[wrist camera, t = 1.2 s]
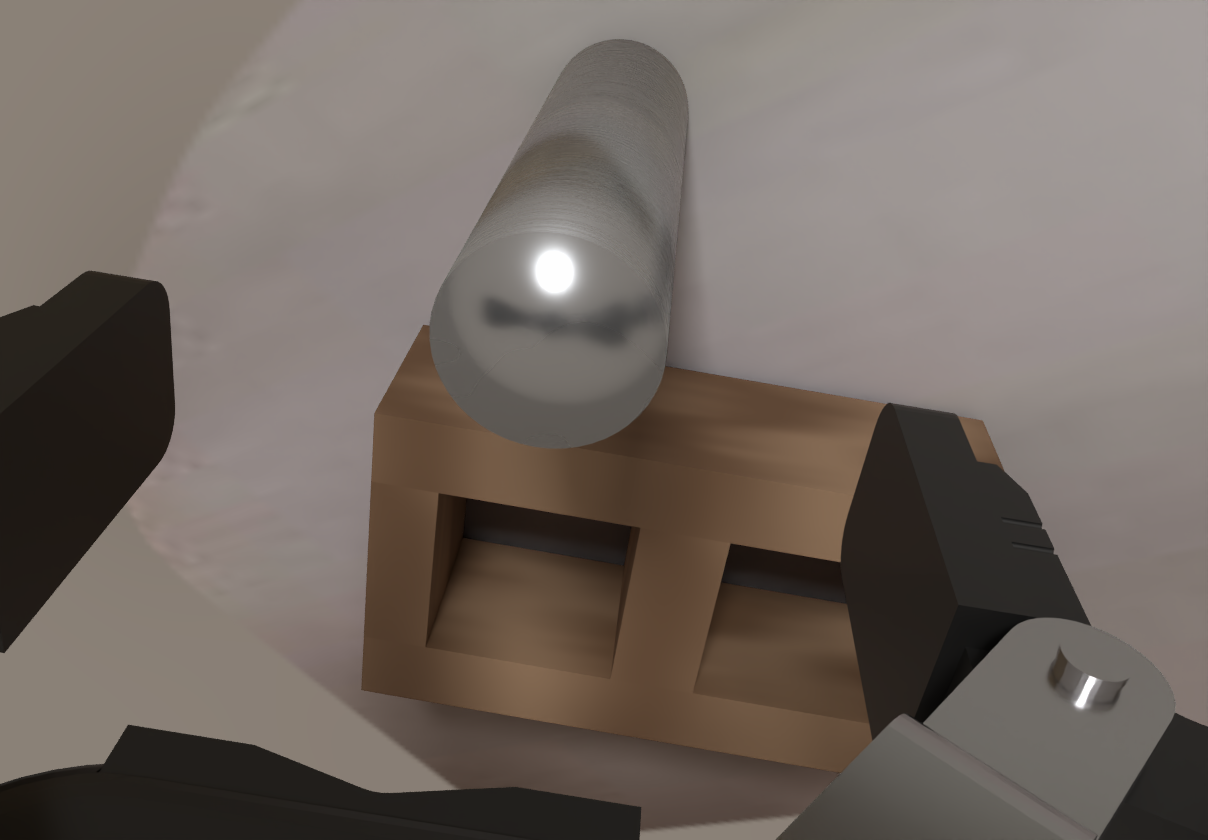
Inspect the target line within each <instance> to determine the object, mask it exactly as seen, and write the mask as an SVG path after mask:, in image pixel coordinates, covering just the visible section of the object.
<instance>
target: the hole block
mask: <svg viewBox="0 0 1208 840" xmlns="http://www.w3.org/2000/svg"><path fill="white" fill-rule="evenodd" d="M885 405H886V404H883V403H877V402H871V401H865V400H859V399H854V398H848V397H842V396H836V395H830V394H824V393H819V392H813V391H807V390H801V389H795V388H789V387H784V386H778V385H772V384H766V383H760V382H754V381H749V380H743V379H737V378H731V377H725V376H719V375H714V374H708V373H702V372H696V371H690V370H684V369H679V368H673V367H667V366H665V369H664V373H663V376H662V380H661V382H660V385H659V387H658V389H657V391H656V393H655V395H654V397H653V398H652V400H651V401H650V403H649V405H648V406H647V407H646V408H645V409H644V411H643V412H642V413H641V414H640V415H639V416H638V417H637V418H636V419H635V420H634V421H633V422H631V423H630V424H629V425H628V426H626V427H625V428H623V429H622V430H620V431H619V432H617V433H615V434H614V435H612V436H610V437H608V438H606V439H603V440H600V441H598V442H595V443H592V444H588V445H584V446H580V447H573V448H564V449H548V448H540V447H532V446H528V445H524V444H519V443H517V442H514V441H511V440H508V439H505V438H503V437H501V436H499V435H497V434H495V433H493V432H491V431H489V430H488V429H486V428H485V427H483V426H481V425H480V424H478V423H477V422H476V421H475V420H473V419H472V418H471V417H470V416H468V415H467V414H466V413H465V412H464V411H463V410H462V409H461V408H460V407H459V406H458V405H457V403H456V402H455V401H454V400H453V398H452V397H451V396H450V394H449V393H448V391H447V390H446V388H445V386H444V385H443V383H442V381H441V379H440V377H439V375H438V372H437V370H436V368H435V364H434V361H433V357H432V354H431V346H430V326H428V325H423V327H422V328H421V330H420V332H419V334H418V336H417V337H416V339H415V341H414V343H413V345H412V346H411V348H410V350H409V352H408V354H407V355H406V357H405V359H404V361H403V363H402V364H401V366H400V368H399V370H398V372H397V374H396V375H395V377H394V379H393V381H392V383H391V384H390V386H389V388H388V390H387V392H386V393H385V395H384V397H383V399H382V401H381V402H380V404H379V406H378V408H377V410H376V411H375V415H374V436H373V457H372V478H371V499H370V520H369V541H368V562H367V583H366V604H365V625H364V646H363V667H362V688H361V690H364V691H370V692H375V693H381V694H387V695H393V696H399V697H404V698H410V699H416V700H422V701H428V702H433V703H439V704H445V705H451V706H457V707H462V708H468V709H474V710H480V711H485V712H491V713H497V714H503V715H509V716H514V717H520V718H526V719H532V720H538V721H543V722H549V723H555V724H561V725H566V726H572V727H578V728H584V729H590V730H595V731H601V732H607V733H613V734H619V735H624V736H630V737H636V738H642V739H647V740H653V741H659V742H665V743H671V744H676V745H682V746H688V747H694V748H700V749H705V750H711V751H717V752H723V753H728V754H734V755H740V756H746V757H752V758H757V759H763V760H769V761H775V762H781V763H786V764H792V765H798V766H804V767H809V768H815V769H821V770H827V771H833V772H838V773H842V772H843V771H844V769H845V768H846V767H847V766H848V765H849V764H850V763H851V762H852V761H853V760H854V759H855V758H856V757H857V756H858V755H859V754H860V753H861V752H862V751H863V750H864V749H865V748H866V747H867V746H868V745H869V744H870V743H871V742H872V736H871V730H870V725H869V720H868V714H867V709H866V704H865V698H864V693H863V688H862V682H861V677H860V672H859V666H858V661H857V655H856V650H855V645H854V639H853V634H852V629H851V623H850V618H849V613H848V607H847V604H844V603H838V602H833V601H827V600H821V599H815V598H809V597H803V596H798V595H792V594H786V593H780V592H774V591H769V590H763V589H757V588H751V587H745V586H740V585H734V584H728V583H722V582H721V579H722V575H723V571H724V567H725V563H726V559H727V555H728V552H729V548H730V544H731V543H732V544H738V545H744V546H749V547H755V548H761V549H767V550H773V551H778V552H784V553H790V554H796V555H802V556H807V557H813V558H819V559H825V560H831V561H837V562H841V546H842V538H843V532H844V527H845V523H846V519H847V515H848V512H849V509H850V506H851V503H852V499H853V496H854V493H855V490H856V486H857V483H858V480H859V477H860V474H861V470H862V467H863V464H864V461H865V457H866V454H867V451H868V448H869V445H870V441H871V438H872V435H873V432H874V428H875V425H876V422H877V420H878V417H879V415H880V413H881V411H882V409H883V408H884V406H885ZM958 418H959V420H960V422H961V424H962V427H963V429H964V432H965V434H966V436H967V439H968V441H969V443H970V446H971V448H972V450H973V453H974V455H975V457H976V460H977V461H979V462H985V463H991V464H997V465H998V466H999V467H1000V468H1001V469H1002V470H1003V471H1004V469H1003V467H1002V464H1001V462H1000V460H999V457H998V455H997V453H996V450H995V448H994V446H993V443H992V441H991V439H990V436H989V434H988V432H987V429H986V427H985V425H984V422H983V421H982V420H976V419H970V418H965V417H959V416H958ZM1004 472H1005V471H1004ZM467 498H470V499H476V500H482V501H488V502H494V503H499V504H505V505H511V506H517V507H523V508H528V509H534V510H540V511H546V512H552V513H557V514H563V515H569V516H575V517H581V518H587V519H592V520H598V521H604V522H610V523H616V524H621V525H627V526H632V527H631V532H630V537H629V542H628V547H627V553H626V558H625V563H624V566H623V565H618V564H612V563H606V562H600V561H594V560H589V559H583V558H577V557H571V556H565V555H560V554H554V553H548V552H542V551H536V550H530V549H525V548H519V547H513V546H507V545H501V544H496V543H490V542H484V541H478V540H472V539H467V538H463V532H464V522H465V512H466V502H467Z"/></svg>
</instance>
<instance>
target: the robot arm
mask: <svg viewBox="0 0 1208 840" xmlns="http://www.w3.org/2000/svg"><path fill="white" fill-rule="evenodd" d="M174 418H175V396H174V379H173V361H172V344H171V326H170V309H169V301H168V296H167V293H166V290H165V288H164V286H163V285H162V284H161V283H159V282H157V281H151V280H145V279H139V278H133V277H127V276H121V275H114V274H108V273H102V272H96V271H87V272H85V273H83V274H81V275H80V276H79V277H78V278H76V279H75V280H74V281H72V282H71V283H70V284H68V285H67V286H66V287H64V288H63V289H62V290H61V291H59V292H58V293H57V294H55V295H54V296H53V297H51V298H50V299H49V300H48V301H46V302H45V303H44V304H42V305H41V306H34V305H33V306H30V307H27V308H24V309H22V310H19V311H16V312H13V313H11V314H8V315H5V316H2V317H0V652H2V653H5V652H6V650H7V649H8V648H9V646H10V645H11V644H12V643H13V642H14V641H15V639H16V638H17V637H18V636H19V634H20V633H21V632H22V631H23V629H24V628H25V627H26V626H27V624H28V623H29V622H30V621H31V619H32V618H33V617H34V616H35V615H36V614H37V612H38V611H39V610H40V609H41V607H42V606H43V605H44V604H45V602H46V601H47V600H48V599H49V598H50V596H51V595H52V594H53V593H54V591H55V590H56V589H57V587H58V586H59V585H60V584H61V583H62V581H63V580H64V579H65V578H66V577H67V575H68V574H69V573H70V572H71V570H72V569H73V568H74V567H75V566H76V564H77V563H78V562H79V561H80V559H81V558H82V557H83V556H84V554H85V553H86V552H87V551H88V550H89V548H90V547H91V545H93V543H94V542H95V541H96V540H97V538H98V537H99V536H100V535H101V534H102V532H103V531H104V530H105V529H106V527H107V526H108V525H109V524H110V522H111V521H112V520H113V519H114V518H115V516H116V515H117V514H118V513H119V511H120V510H121V509H122V508H123V507H124V505H125V504H126V503H127V502H128V500H129V499H130V498H131V497H132V495H133V494H134V493H135V492H136V491H137V489H138V488H139V487H140V486H141V484H142V483H143V482H144V481H145V479H146V478H147V477H148V476H149V475H150V473H151V472H152V471H153V470H154V468H155V467H156V466H157V465H158V463H159V462H160V461H161V459H162V458H163V456H164V454H165V452H166V450H167V447H168V445H169V442H170V439H171V435H172V431H173V426H174ZM1053 551H1054V547H1053V545H1052V543H1051V541H1050V539H1049V537H1048V534H1047V532H1046V530H1044V529H1042V522H1041V520H1040V518H1039V516H1038V514H1037V511H1036V509H1035V507H1034V505H1033V503H1032V501H1031V499H1030V497H1029V495H1028V493H1027V492H1026V491H1025V490H1024V489H1022V488H1021V487H1020V486H1019V485H1018V484H1017V483H1016V482H1015V481H1014V480H1013V479H1012V478H1011V477H1010V476H1009V475H1007V474H1006V473H1005V472H1004V471H1003V470H1002V469H1001V468H1000V467H999V466H998V465H997V464H991V463H985V462H979V461H977V460H976V457H975V455H974V453H973V450H972V448H971V446H970V443H969V441H968V439H967V436H966V434H965V432H964V429H963V427H962V424H961V422H960V420H959V418H958V416H957V415H956V414H953V413H948V412H942V411H936V410H929V409H923V408H917V407H911V406H905V405H899V404H893V403H888V404H886V405H885V406H884V408H883V409H882V411H881V413H880V415H879V417H878V420H877V422H876V425H875V428H874V432H873V435H872V438H871V441H870V445H869V448H868V451H867V454H866V457H865V461H864V464H863V467H862V470H861V474H860V477H859V480H858V483H857V486H856V490H855V493H854V496H853V499H852V503H851V506H850V509H849V512H848V515H847V519H846V523H845V527H844V532H843V538H842V546H841V575H842V580H843V586H844V591H845V596H846V602H847V607H848V613H849V618H850V623H851V629H852V634H853V639H854V645H855V650H856V655H857V661H858V666H859V672H860V677H861V682H862V688H863V693H864V698H865V704H866V709H867V714H868V720H869V725H870V730H871V736H872V742H871V743H870V744H869V745H868V746H867V747H866V748H865V749H864V750H863V751H862V752H861V753H860V754H859V755H858V756H857V757H856V758H855V759H854V760H853V761H852V762H851V763H850V764H849V765H848V766H847V767H846V768H845V769H844V771H843V772H842V773H841V774H840V775H839V776H838V777H837V778H836V779H835V780H834V781H833V782H832V783H831V784H830V785H829V786H828V787H827V788H826V789H825V790H824V791H823V792H822V793H821V794H820V795H819V796H818V797H817V798H816V799H815V800H814V801H813V802H812V803H811V804H810V805H809V806H808V807H807V808H806V809H805V810H804V811H803V812H802V813H801V814H800V815H799V816H798V817H797V818H796V819H795V820H794V821H793V822H792V823H791V824H790V826H788V828H787V829H786V830H785V831H784V832H783V833H782V834H781V835H780V836H779V837H778V838H777V839H776V840H1208V727H1207V726H1204V725H1202V724H1199V723H1197V722H1194V721H1192V720H1190V719H1187V718H1185V717H1183V716H1181V715H1179V714H1177V713H1175V698H1174V694H1173V692H1172V689H1171V687H1170V685H1169V683H1168V682H1167V680H1166V679H1165V678H1164V676H1163V675H1162V673H1161V672H1160V671H1159V670H1158V669H1157V668H1156V667H1155V666H1154V664H1153V663H1152V662H1150V661H1149V660H1148V659H1147V658H1146V657H1145V656H1144V655H1142V654H1141V653H1140V652H1138V651H1137V650H1136V649H1134V648H1133V647H1132V646H1130V645H1129V644H1127V643H1125V642H1124V641H1122V640H1120V639H1118V638H1117V637H1115V636H1113V635H1111V634H1109V633H1107V632H1105V631H1102V630H1100V629H1097V628H1095V627H1092V626H1091V625H1090V622H1089V620H1088V618H1087V616H1086V614H1085V612H1084V610H1083V608H1082V606H1081V604H1080V601H1079V599H1078V597H1077V595H1076V593H1075V591H1074V589H1073V587H1072V585H1071V583H1070V581H1069V578H1068V576H1067V574H1066V572H1065V570H1064V568H1063V566H1062V564H1061V562H1060V560H1059V558H1058V555H1054V554H1053ZM640 819H641V807H636V806H630V805H624V804H618V803H611V802H605V801H599V800H593V799H587V798H580V797H574V796H568V795H562V794H556V793H549V792H543V791H537V790H531V789H524V788H518V787H506V788H486V789H465V790H445V791H426V792H425V791H424V792H406V793H405V792H403V793H379V792H372V791H369V790H366V789H363V788H360V787H358V786H355V785H353V784H350V783H348V782H345V781H343V780H340V779H338V778H335V777H333V776H330V775H328V774H325V773H323V772H320V771H318V770H315V769H313V768H310V767H308V766H305V765H303V764H300V763H298V762H295V761H293V760H290V759H288V758H285V757H283V756H280V755H278V754H275V753H273V752H270V751H268V750H265V749H263V748H260V747H258V746H255V745H251V744H245V743H238V742H232V741H226V740H220V739H213V738H207V737H201V736H194V735H188V734H182V733H176V732H170V731H163V730H158V729H151V728H144V727H139V726H132V725H128V726H127V728H126V729H125V731H124V732H123V734H122V736H121V737H120V739H119V741H118V742H117V744H116V745H115V747H114V749H113V750H112V752H111V753H110V755H109V757H108V758H107V760H106V762H105V763H104V764H96V765H84V766H77V767H70V768H63V769H56V770H51V771H47V772H43V773H38V774H34V775H30V776H25V777H21V778H18V779H14V780H11V781H8V782H5V783H2V784H0V840H639V837H640Z"/></svg>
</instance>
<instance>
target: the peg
mask: <svg viewBox="0 0 1208 840" xmlns="http://www.w3.org/2000/svg"><path fill="white" fill-rule="evenodd" d="M687 121H688V99H687V94H686V90H685V86H684V84H683V82H682V79H681V77H680V75H679V74H678V72H677V70H676V69H675V67H674V66H673V65H672V64H671V62H670V61H669V60H668V59H667V58H666V57H665V56H663V55H662V54H661V53H659V52H658V51H657V50H655V49H653V48H651V47H650V46H648V45H645V44H643V43H640V42H636V41H632V40H624V39H614V40H607V41H602V42H599V43H596V44H593V45H591V46H589V47H587V48H585V49H584V50H582V51H581V52H579V53H578V54H577V55H576V56H575V57H574V58H572V59H571V61H570V62H569V63H568V64H567V65H566V67H565V68H564V70H563V71H562V73H561V74H560V76H559V78H558V80H557V81H556V83H555V85H554V87H553V89H552V90H551V92H550V94H549V96H548V97H547V99H546V101H545V103H544V105H543V106H542V108H541V110H540V112H539V113H538V115H537V117H536V119H535V121H534V122H533V124H532V126H531V128H530V129H529V131H528V133H527V135H526V137H525V138H524V140H523V142H522V144H521V145H520V147H519V149H518V151H517V153H516V154H515V156H514V158H513V160H512V161H511V163H510V165H509V167H508V169H507V170H506V172H505V174H504V176H503V178H502V179H501V181H500V183H499V185H498V186H497V188H496V190H495V192H494V194H493V195H492V197H491V199H490V201H489V202H488V204H487V206H486V208H485V210H484V211H483V213H482V215H481V217H480V218H479V220H478V222H477V224H476V226H475V227H474V229H473V231H472V233H471V234H470V236H469V238H468V240H467V242H466V243H465V245H464V247H463V249H462V250H461V252H460V254H459V256H458V258H457V259H456V261H455V263H454V265H453V266H452V268H451V270H450V272H449V274H448V275H447V277H446V279H445V281H444V283H443V284H442V286H441V288H440V290H439V293H438V295H437V297H436V299H435V302H434V306H433V309H432V313H431V320H430V346H431V354H432V357H433V361H434V364H435V368H436V370H437V372H438V375H439V377H440V379H441V381H442V383H443V385H444V386H445V388H446V390H447V391H448V393H449V394H450V396H451V397H452V398H453V400H454V401H455V402H456V403H457V405H458V406H459V407H460V408H461V409H462V410H463V411H464V412H465V413H466V414H467V415H468V416H470V417H471V418H472V419H473V420H475V421H476V422H477V423H478V424H480V425H481V426H483V427H485V428H486V429H488V430H489V431H491V432H493V433H495V434H497V435H499V436H501V437H503V438H505V439H508V440H511V441H514V442H517V443H519V444H524V445H528V446H532V447H540V448H548V449H564V448H573V447H580V446H584V445H588V444H592V443H595V442H598V441H600V440H603V439H606V438H608V437H610V436H612V435H614V434H615V433H617V432H619V431H620V430H622V429H623V428H625V427H626V426H628V425H629V424H630V423H631V422H633V421H634V420H635V419H636V418H637V417H638V416H639V415H640V414H641V413H642V412H643V411H644V409H645V408H646V407H647V406H648V405H649V403H650V401H651V400H652V398H653V397H654V395H655V393H656V391H657V389H658V387H659V385H660V382H661V380H662V376H663V373H664V369H665V364H666V356H667V346H668V335H669V324H670V313H671V301H672V290H673V279H674V267H675V256H676V245H677V234H678V222H679V211H680V200H681V189H682V177H683V166H684V155H685V143H686V132H687Z"/></svg>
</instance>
